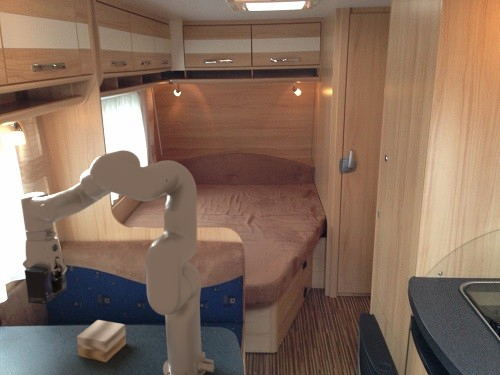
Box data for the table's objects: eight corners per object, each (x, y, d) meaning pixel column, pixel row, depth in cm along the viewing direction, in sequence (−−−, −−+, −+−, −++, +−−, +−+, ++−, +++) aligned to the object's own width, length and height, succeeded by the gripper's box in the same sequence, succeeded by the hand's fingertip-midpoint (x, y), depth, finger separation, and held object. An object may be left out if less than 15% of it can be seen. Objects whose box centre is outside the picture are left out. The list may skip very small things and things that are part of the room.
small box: (47, 305, 128) (42, 271, 126) (27, 303, 129) (22, 270, 127) (68, 289, 138) (64, 258, 136) (50, 287, 139) (46, 257, 137)
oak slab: (126, 345, 138) (125, 335, 137) (105, 363, 129) (104, 353, 128) (100, 339, 141) (99, 329, 140) (78, 357, 132) (77, 346, 131)
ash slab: (125, 334, 138) (124, 324, 137) (106, 352, 128) (105, 341, 127) (98, 329, 140) (97, 319, 140) (78, 346, 131) (76, 336, 130)
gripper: (72, 232, 130) (79, 287, 134) (27, 228, 136) (35, 281, 139) (54, 240, 123) (62, 298, 127) (7, 235, 129) (16, 291, 133)
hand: (47, 289), depth 133 cm, fingers closed on small box, 6 cm apart
